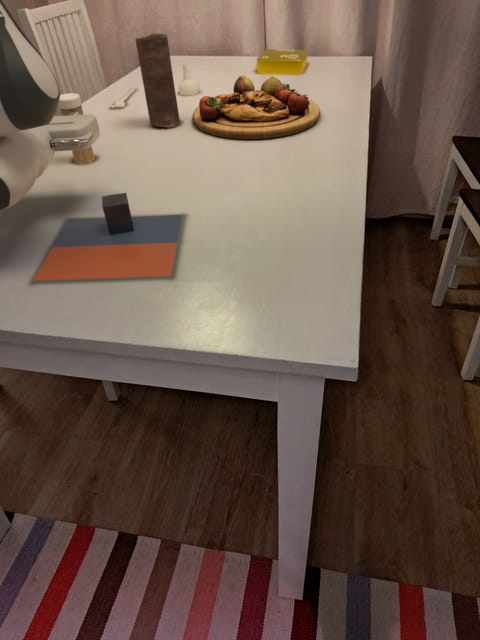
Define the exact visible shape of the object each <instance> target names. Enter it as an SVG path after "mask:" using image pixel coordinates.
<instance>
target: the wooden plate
mask: <svg viewBox="0 0 480 640" xmlns="http://www.w3.org/2000/svg"><path fill="white" fill-rule="evenodd" d="M290 87H291V86H290V84H289V83H287V84H286V83H285V82H284V83H282V81H281V80H280V79H279V78H277V77H275V76H274V75H272V76H270V77H269V78H267V79H266V80H265V81H263V83H262V84H261V86H260V89H255V85H254V83H253V81H252V79H251V78H249V77H248V76H246V75H244V74H242V75H239V76H238V78H237V79H236V81H234V85H233V92H232V93H229V94H218V95H215V97H214V96H209V95H203V96H202V97H201V98H200V99H199V104H198V106H196V108H195V109H194V111H193V113H192V122H193V123H194V125H195V126H196V127H197V128H198V129H199V130H200V131H202V132H205V133H207V134H209V135H213V136H216V137H222V138H227V139H238V140H239V139H240V140H261V139H263V140H264V139H273V138H279V137H285V136H290V135H293V134H297V133H300V132H302V131H304V130H306V129H309V128H310V127H312V126H314V125H315V124H316V123H317V122H318V121H319V119H320V116H321V109H320V106H319V105H318V104H317V103H316V102H315V101H313V100H312V99H310V98H309V97H308V94H300V93H299V92H298V91H297V90H296V89H295V88H292V89H291V88H290Z"/></svg>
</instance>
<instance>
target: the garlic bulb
mask: <svg viewBox="0 0 480 640" xmlns="http://www.w3.org/2000/svg"><path fill="white" fill-rule="evenodd" d="M187 65H188V64H185V63H182V73H183V74H182V75H183V76H182V77H183V78H182V80H181V81H180V82H179V84H178V87H177V88H178V90H177V91H178V93H179V95H180V96H184V97H186V96H187V97H188V96H195V95H196V94H198V93H199V92H200V88H201V86H200V83H199V82H198V80H197V79H195V78H193V77H191V74H190V72H189V69H188V66H187Z"/></svg>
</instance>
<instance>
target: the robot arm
mask: <svg viewBox="0 0 480 640" xmlns="http://www.w3.org/2000/svg"><path fill="white" fill-rule="evenodd" d="M60 95H61V90H60V86H59V82H58V79H57V78H56V76H55V74H54V72H53V70H52V69H51V67H50V65H49V64H48V63H47V61H46V60H45V59H44V57H43V56H42V54H41V53H40V52H39V51H38V49H37V48H36V47H35V45H34V44H33V43H32V42H31V41H30V39H29V38H28V36H27V35H26V34H25V33H24V32H23V30H22V29H21V27H20V26H19V24H18V23H17V21H16V20H15V18H14V16H13V15H12V13H11V12H10V11H9V9H8V7H7V5H6V4H5V3H4V1H3V0H0V211H3V210H7V209H9V208H11V207H13V206H14V205H15V204H17V203H18V202H19V201H20V200H22V198H24V197H25V196H26V194H27V193H28V192H29V191H30V190H31V189H32V188H33V186H34V185H35V183H36V181H37V179H39V178H40V177H41V176H42V175H43V174H44V172H45V171H46V170H47V168H48V167H49V166H50V165H51V163H53V160H54V158H55V155H56V152H69V151H71V152H72V151H73V150H82V149H85V148H87V147H89V146H90V145H91V146H92V145H93V144H95V142H96V141H98V139H99V138H100V136H101V131H100V126H99V122H98V120H97V117H96V116H95V115H94V114H88V113H87V114H84V115H80V114H79V112H74V113H70V114H69V115H68V116H62V115H56V112H57V109H58V108H59V107H58V103H59V98H60Z"/></svg>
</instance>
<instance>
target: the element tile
mask: <svg viewBox="0 0 480 640" xmlns="http://www.w3.org/2000/svg"><path fill="white" fill-rule="evenodd" d="M307 65H308V50H306V49H288V48H287V49H264V50H263V51H262V52H261V54H259V56H257V58H256V74H260V75H301V74H303V73H304V71H305V69H306V67H307Z"/></svg>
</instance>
